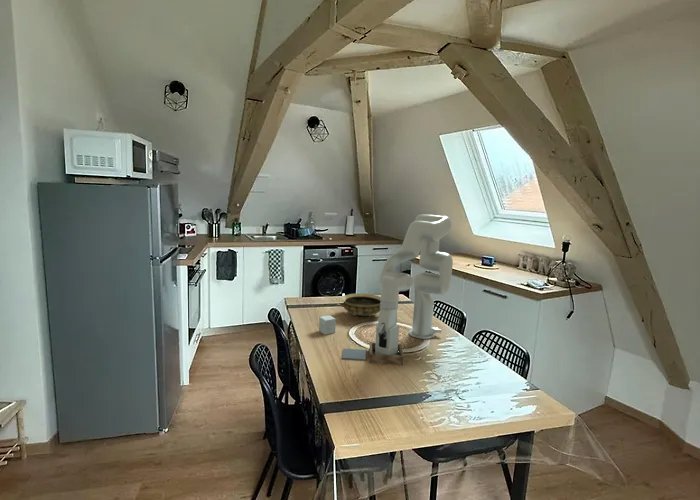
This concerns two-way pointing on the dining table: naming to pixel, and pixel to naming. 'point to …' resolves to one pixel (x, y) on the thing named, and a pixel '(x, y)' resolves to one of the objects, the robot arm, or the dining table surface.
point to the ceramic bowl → (361, 304)
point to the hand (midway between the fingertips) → (386, 343)
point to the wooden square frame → (385, 356)
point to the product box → (327, 324)
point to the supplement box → (388, 342)
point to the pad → (354, 354)
